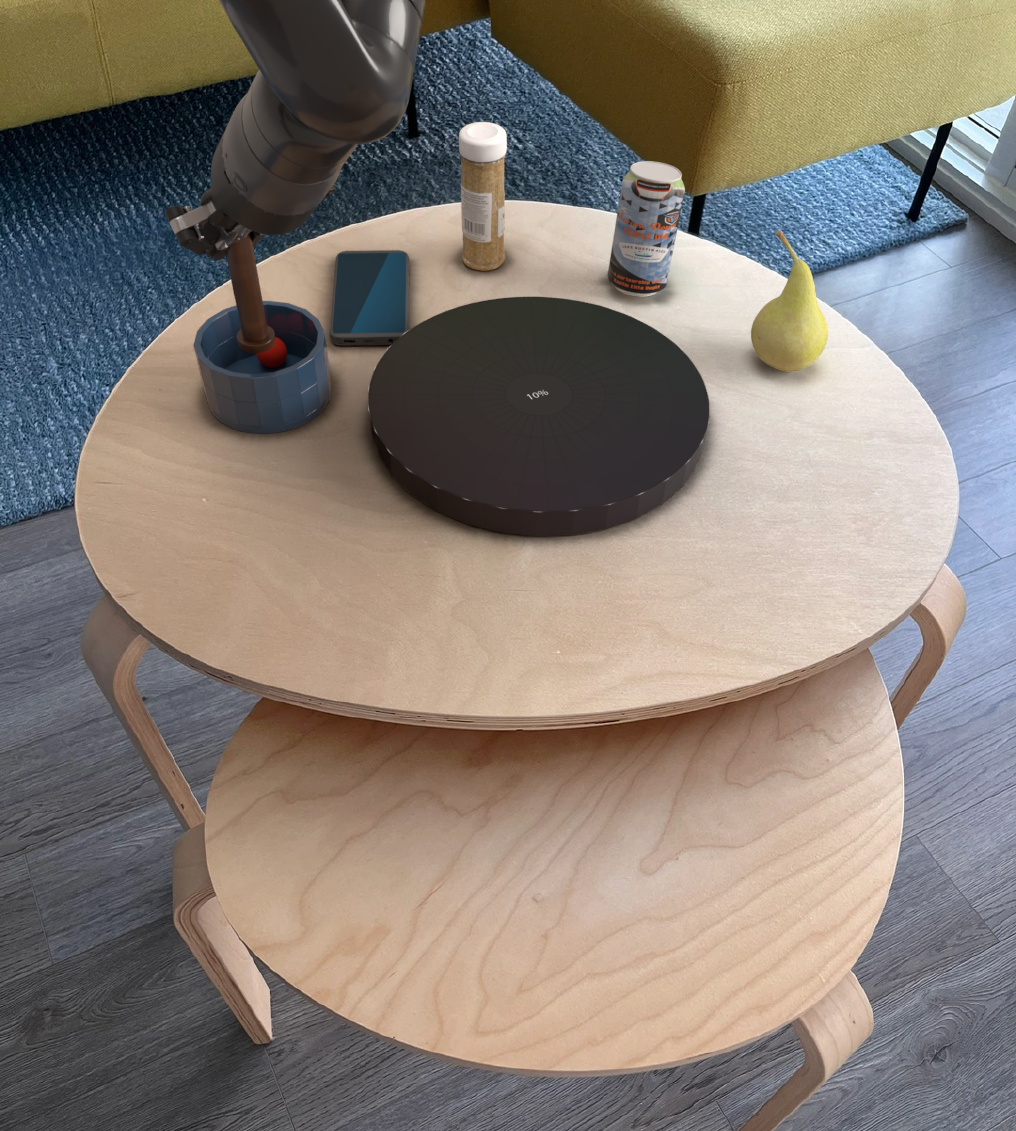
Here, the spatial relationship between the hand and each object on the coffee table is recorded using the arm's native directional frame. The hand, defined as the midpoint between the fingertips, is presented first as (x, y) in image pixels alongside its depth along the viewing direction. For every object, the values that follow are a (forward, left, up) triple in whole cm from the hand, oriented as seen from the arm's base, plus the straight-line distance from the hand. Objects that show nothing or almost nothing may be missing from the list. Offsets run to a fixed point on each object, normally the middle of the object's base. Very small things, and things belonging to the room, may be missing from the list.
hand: (227, 242), depth 91 cm
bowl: (0, -1, -15) cm, 15 cm away
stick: (-1, -2, -8) cm, 9 cm away
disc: (+9, -24, -15) cm, 30 cm away
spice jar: (+29, -7, -15) cm, 34 cm away
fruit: (+28, -40, -15) cm, 51 cm away
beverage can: (+33, -23, -15) cm, 43 cm away
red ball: (+3, 0, -13) cm, 13 cm away
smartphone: (+17, -1, -15) cm, 23 cm away
